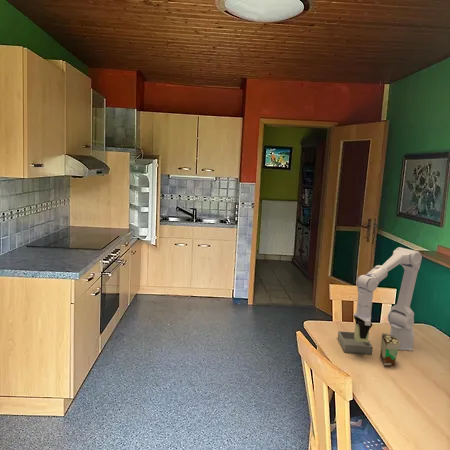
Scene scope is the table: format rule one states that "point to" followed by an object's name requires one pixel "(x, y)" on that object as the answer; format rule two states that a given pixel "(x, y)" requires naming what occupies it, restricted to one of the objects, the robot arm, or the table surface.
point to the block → (357, 334)
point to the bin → (354, 344)
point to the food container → (389, 350)
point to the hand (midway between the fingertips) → (361, 336)
